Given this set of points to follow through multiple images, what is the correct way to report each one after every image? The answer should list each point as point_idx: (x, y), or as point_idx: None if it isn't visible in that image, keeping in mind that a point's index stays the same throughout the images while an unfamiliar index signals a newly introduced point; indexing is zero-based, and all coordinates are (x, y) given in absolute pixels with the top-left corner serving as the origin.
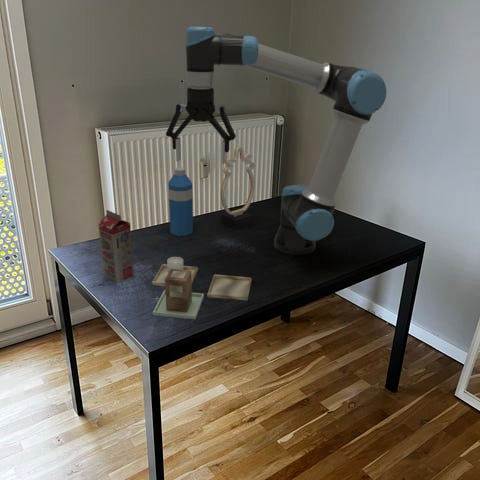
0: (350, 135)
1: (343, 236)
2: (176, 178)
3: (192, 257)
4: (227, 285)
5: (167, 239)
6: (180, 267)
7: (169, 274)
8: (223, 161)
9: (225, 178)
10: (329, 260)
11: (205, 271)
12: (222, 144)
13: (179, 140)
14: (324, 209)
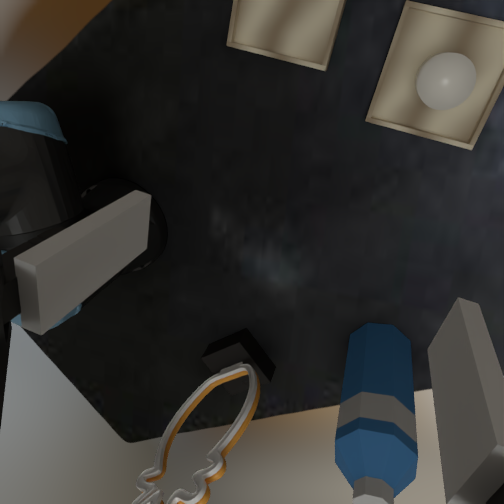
0: None
1: None
2: (389, 470)
3: (370, 202)
4: (295, 16)
5: (424, 312)
6: (430, 59)
7: None
8: (130, 198)
9: (228, 445)
10: None
11: (345, 117)
12: (48, 253)
13: (463, 458)
14: None
